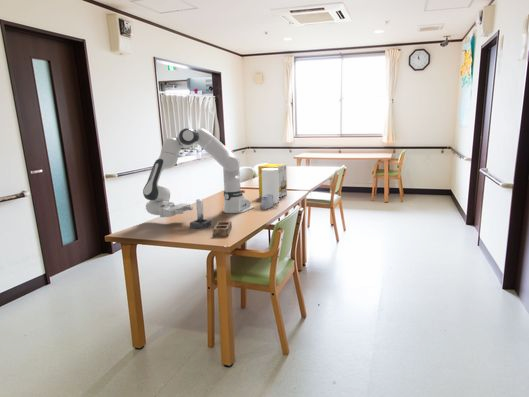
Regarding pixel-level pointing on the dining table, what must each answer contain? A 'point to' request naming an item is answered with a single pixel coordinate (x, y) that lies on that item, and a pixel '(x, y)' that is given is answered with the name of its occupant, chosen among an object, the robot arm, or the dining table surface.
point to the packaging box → (281, 178)
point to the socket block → (200, 224)
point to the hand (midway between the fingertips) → (187, 210)
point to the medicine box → (267, 201)
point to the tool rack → (222, 229)
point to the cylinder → (270, 183)
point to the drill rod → (200, 211)
